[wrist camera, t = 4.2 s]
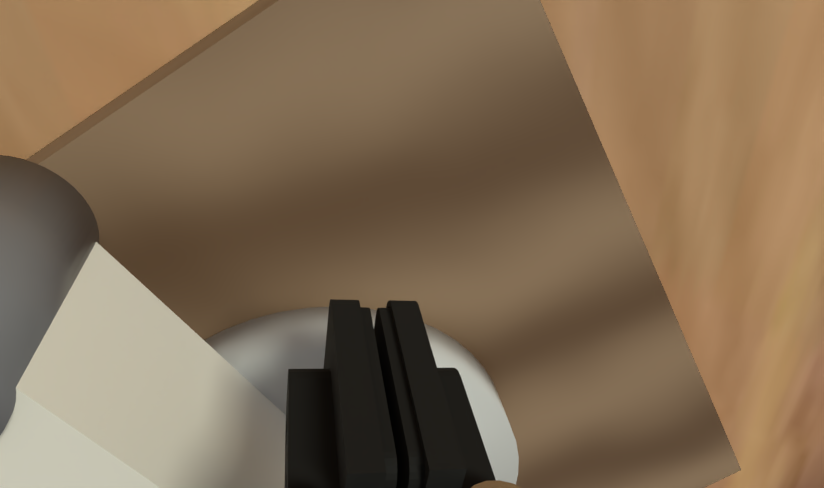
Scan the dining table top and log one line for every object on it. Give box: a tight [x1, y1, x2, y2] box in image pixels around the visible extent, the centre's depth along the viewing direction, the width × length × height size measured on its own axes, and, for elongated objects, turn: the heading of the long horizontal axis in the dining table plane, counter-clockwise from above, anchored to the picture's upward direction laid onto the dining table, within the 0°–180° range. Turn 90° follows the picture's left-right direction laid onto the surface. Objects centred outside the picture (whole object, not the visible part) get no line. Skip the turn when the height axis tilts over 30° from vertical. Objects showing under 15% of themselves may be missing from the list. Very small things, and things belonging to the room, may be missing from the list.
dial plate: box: [27, 0, 741, 488], centre depth 19 cm, size 22×22×2 cm
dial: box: [0, 155, 519, 488], centre depth 14 cm, size 18×11×6 cm, turn 30°
